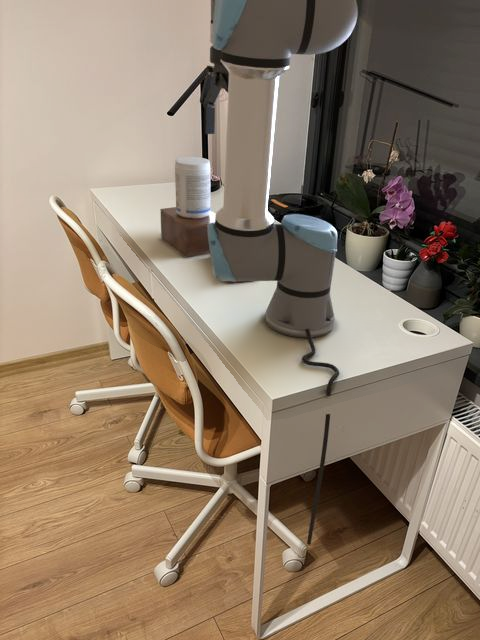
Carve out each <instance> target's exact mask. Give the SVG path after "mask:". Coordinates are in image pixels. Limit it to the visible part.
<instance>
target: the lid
mask: <svg viewBox="0 0 480 640" xmlns="http://www.w3.org/2000/svg"><path fill="white" fill-rule="evenodd" d="M161 212H162V213H163V214H165V215H166V216H168V217H169V218H171V219H173V220H174V221H176V222H177V223H179V224H180V225H182V226H183V227H185V228H186V229H193V228H200V227H207V225H208V224H209V223H212V222H214V223H215V215H216V212H214V211H212V210H210V214H209V215H208V216H206V217H204V218H198V219H193V218H185V217H182V216H180V215H178V214H177V212H176V206H174V207H165V208H164V207H163V208H160V213H161Z"/></svg>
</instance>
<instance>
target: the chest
mask: <svg viewBox="0 0 480 640" xmlns="http://www.w3.org/2000/svg"><path fill="white" fill-rule="evenodd" d="M160 239H161V241H163V242H164V243H165V244H167V245H168V246H169V247H171V248H172V249H173V250H174V251H176V252H177V253H179V254H180V255H181V256H183V257H184V258H193V257H198V256H203V255H210V249H209V241H208V227H200V228H193V229H186V228H185V227H183V226H182V225H180V224H179V223H177V222H176V221H174V220H173V219H171V218H169V217H168V216H166V215H165V214H163V213H162V212H161V211H160Z"/></svg>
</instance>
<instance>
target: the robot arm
mask: <svg viewBox="0 0 480 640" xmlns="http://www.w3.org/2000/svg"><path fill="white" fill-rule="evenodd" d="M357 3H358V2H357V0H210V27H209V43H210V44H211V46H210V47H209V62H210V63H211V64H213V65H207V66H206V70H205V76H204V77H205V78H204V81H203V85H202V89H201V92H200V97H199V104H202V106H203V107H204V135H215V131H216V130H215V129H216V128H215V127H216V104H215V103H216V101H217V99H218V97H219V94H220V93H221V91H222V89H223V90H225V92H226V93H227V111H226V112H227V113H226V114H227V115H226V136H225V137H226V138H225V139H226V140H225V159H224V160H225V161H224V163H225V164H224V184H223V185H224V186H223V206H222V207H221V208H220V209H219V210H217V211H216V212H215V214H216V215H215V223H214V222H212V223H209V224H208V225H207V227H208V241H209V249H210V254H209V255H210V263H211V268H212V273H213V276H214V278H215V279H216V280H218V281H223V282H229V281H234V282H237V281H248V282H276V287H275V290H274V292H273V294H272V297H271V299H270V301H269V304H268V305H267V308H266V311H265V322H266V324H267V326H269V328H271V329H272V330H274V331H276V332H277V333H279V334H282V335H285V336H289V337H293V338H302V339H307V341H308V344H309V347H310V349H311V351H310V352H308V353H306V354H304V355H303V356H302V358H301V361H302V362H303V363H304V364H306V365H308V366H311V367H319V368H320V367H321V368H328V369H331V370H332V371H333V372H334V374H333V375H332V376H331V377H330V378H329V380H328V381H327V385H326V391H325V395H326V396H327V397H330V396H331V394H332V386H333V384H334V382H335V381H336V380H337V378H338V377H339V375H340V370H339V368H338V367H336V366H335V365H334V364H332V363H328V362H319V361H311V360H309V358H311V357H314V356H315V354H316V351H317V350H316V349H317V348H316V345H315V343H314V341H313V338H318V337H321V336H325V335H326V334H329V333H330V332H331V331H332V330H333V328H334V325H335V313H334V307H333V301H332V298H331V297H332V296H331V288H332V287H331V286H332V281H333V273H334V269H335V268H334V267H335V261H336V254H337V252H338V231H337V229H336V228H335V227H334V226H333V225H332V224H331V223H329V222H328V221H325V220H323V219H321V218H318V217H314V216H311V215H306V214H300V213H290V214H286V215H284V216H283V217H282V220H281V223H275V217H274V216H273V214H272V213H271V212H270V211H269V210H268V205H269V197H270V196H269V195H270V183H271V173H272V172H271V171H272V162H273V161H272V160H273V151H274V138H275V129H276V116H277V107H278V97H279V96H278V95H279V84H280V79H281V76H282V75H283V74H284V73H285V72H286V71H288V69H289V68H290V64H291V56H292V55H303V56H305V55H306V56H307V55H308V56H310V55H320V54H324V53H327V52H331V51H332V50H335V49H336V48H337V47H340V46H341V45H342V44H343V43H345V42H346V40H348V39H349V37H350V36H351V35H352V33H353V32H354V29H355V26H356V24H357V20H358V13H359V11H358V10H359V9H358V4H357ZM330 421H331V413H325V421H324V431H323V440H322V447H321V456H320V461H319V462H320V463H319V468H318V474H317V475H318V476H317V481H316V488H315V492H314V493H315V494H314V499H313V505H312V509H311V510H312V511H311V515H310V522H309V528H308V533H307V534H308V535H307V540H306V544H307V545H308V546H311V545H312V539H313V532H314V526H315V521H316V516H317V511H318V505H319V498H320V494H321V493H320V492H321V487H322V481H323V476H324V470H325V463H326V455H327V449H328V441H329V433H330V431H329V430H330V424H331V423H330Z"/></svg>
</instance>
